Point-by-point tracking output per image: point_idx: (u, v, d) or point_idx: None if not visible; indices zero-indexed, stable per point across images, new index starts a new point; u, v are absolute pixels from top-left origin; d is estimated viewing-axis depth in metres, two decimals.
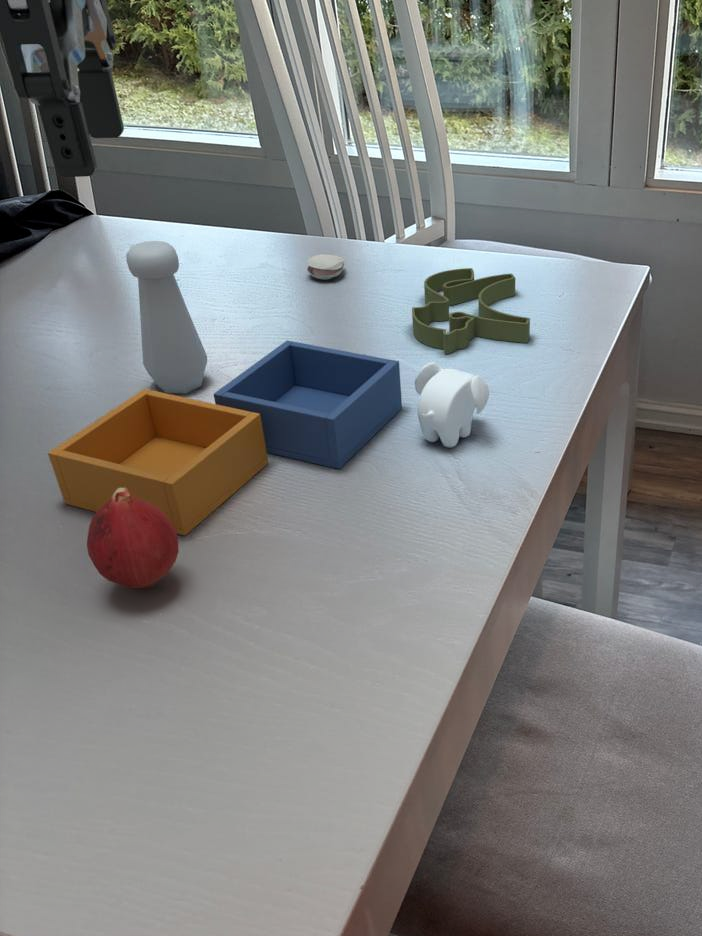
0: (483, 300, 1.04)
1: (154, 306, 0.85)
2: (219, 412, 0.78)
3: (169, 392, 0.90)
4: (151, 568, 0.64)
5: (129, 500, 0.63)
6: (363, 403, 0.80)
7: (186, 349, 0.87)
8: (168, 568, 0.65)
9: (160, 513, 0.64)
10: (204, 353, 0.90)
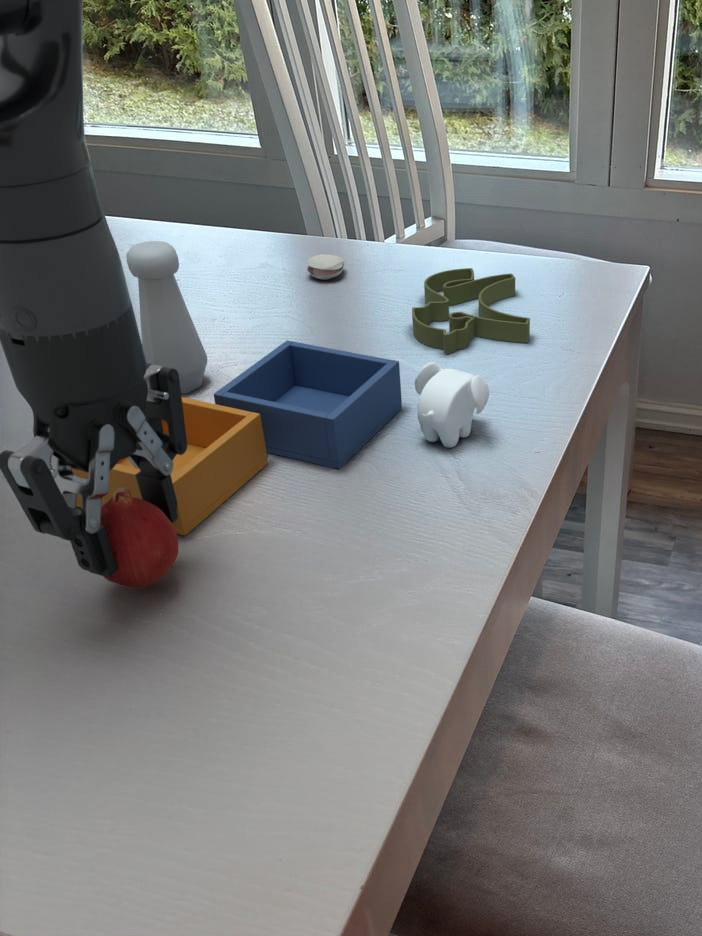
0: (483, 300, 1.04)
1: (154, 306, 0.85)
2: (219, 412, 0.78)
3: None
4: (150, 568, 0.64)
5: (129, 500, 0.63)
6: (363, 403, 0.80)
7: (186, 349, 0.87)
8: (168, 568, 0.65)
9: (160, 513, 0.64)
10: (204, 353, 0.90)
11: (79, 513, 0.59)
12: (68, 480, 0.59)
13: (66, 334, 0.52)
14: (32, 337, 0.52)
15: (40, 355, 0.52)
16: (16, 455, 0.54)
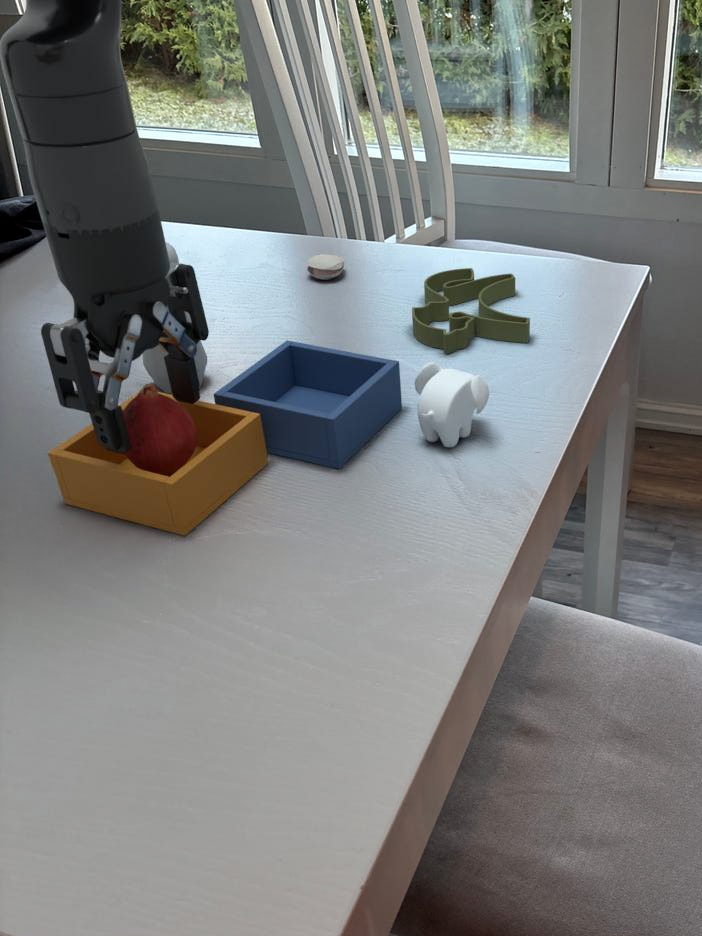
0: (483, 300, 1.04)
1: None
2: (219, 412, 0.78)
3: (169, 392, 0.90)
4: (173, 454, 0.74)
5: (155, 394, 0.73)
6: (363, 403, 0.80)
7: None
8: (188, 457, 0.75)
9: (181, 408, 0.75)
10: (204, 353, 0.90)
11: (99, 392, 0.68)
12: (95, 361, 0.68)
13: (104, 228, 0.61)
14: (76, 231, 0.61)
15: (82, 247, 0.62)
16: (58, 325, 0.64)
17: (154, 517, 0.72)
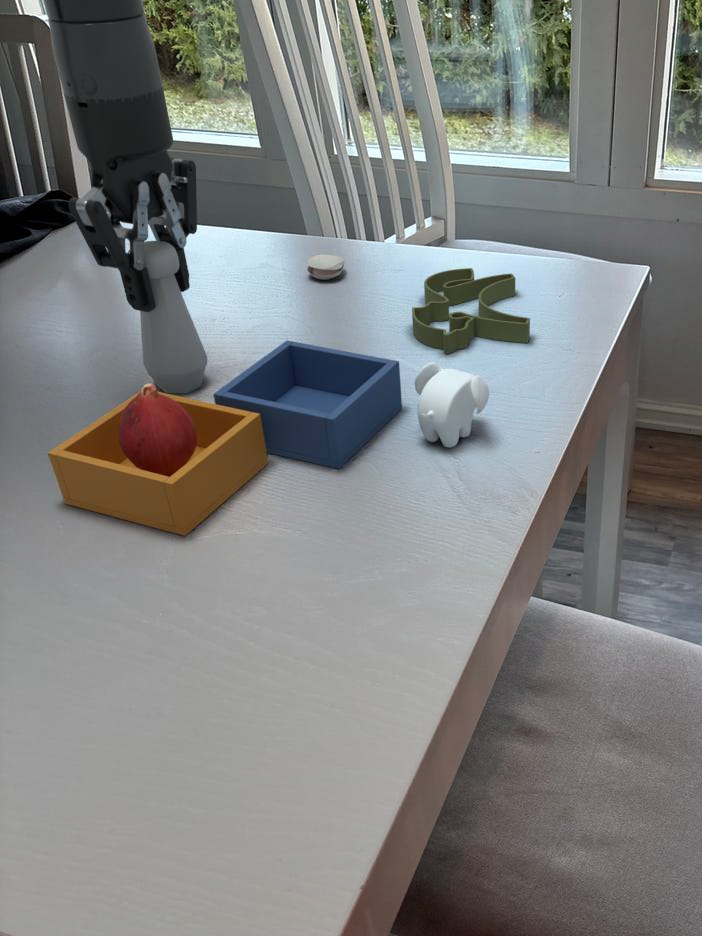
0: (483, 300, 1.04)
1: None
2: (219, 412, 0.78)
3: (169, 392, 0.90)
4: (173, 454, 0.74)
5: (155, 394, 0.73)
6: (363, 403, 0.80)
7: (186, 349, 0.87)
8: (188, 457, 0.75)
9: (181, 408, 0.75)
10: (204, 353, 0.90)
11: (129, 253, 0.80)
12: (118, 228, 0.80)
13: (117, 98, 0.72)
14: (93, 100, 0.72)
15: (98, 115, 0.73)
16: (81, 200, 0.75)
17: (154, 517, 0.72)
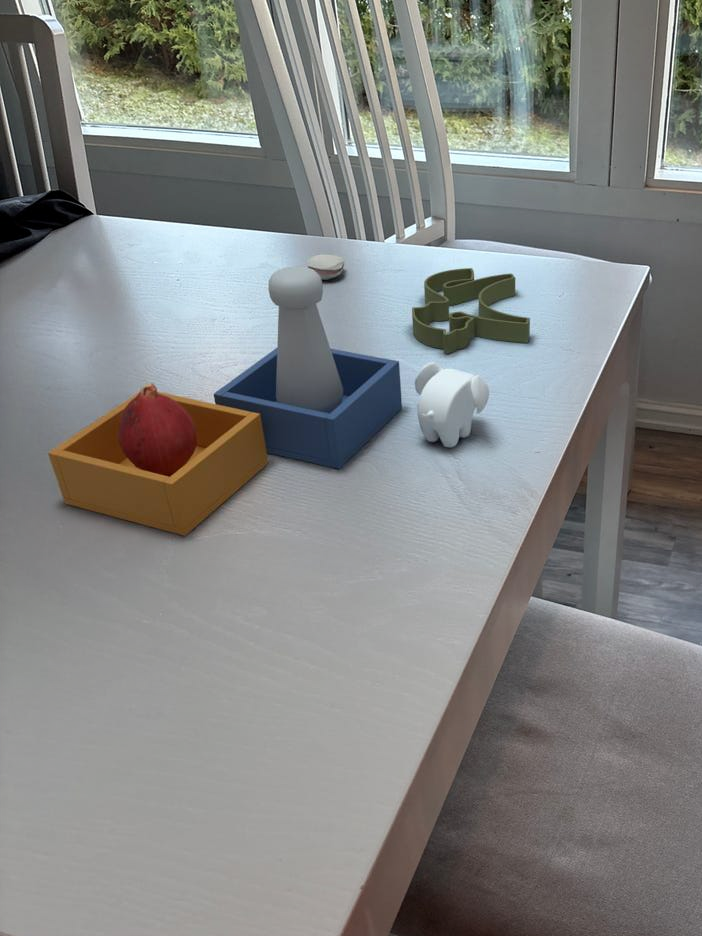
0: (483, 300, 1.04)
1: (296, 337, 0.78)
2: (219, 412, 0.78)
3: None
4: (173, 454, 0.74)
5: (155, 394, 0.73)
6: (363, 403, 0.80)
7: (325, 382, 0.81)
8: (188, 457, 0.75)
9: (181, 408, 0.75)
10: (341, 386, 0.83)
11: None
12: None
13: None
14: None
15: None
16: None
17: (154, 517, 0.72)
